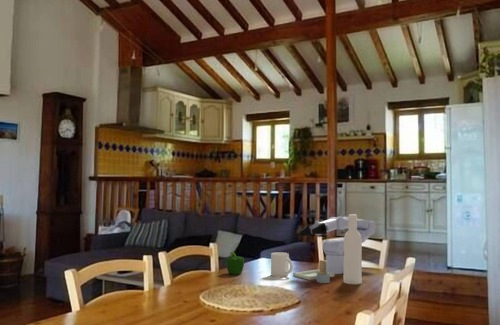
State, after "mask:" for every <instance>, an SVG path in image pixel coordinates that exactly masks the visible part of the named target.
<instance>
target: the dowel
mask: <svg viewBox="0 0 500 325" xmlns="http://www.w3.org/2000/svg"><path fill="white" fill-rule="evenodd" d="M319 270H320V274H321V275H327V261H326V259H325V260H321V259H320V260H319Z"/></svg>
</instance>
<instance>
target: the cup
mask: <svg viewBox="0 0 500 325" xmlns="http://www.w3.org/2000/svg"><path fill="white" fill-rule="evenodd" d="M330 278H331V277H330V274H329V273H327V275H321V274H320V273H317V279H316V282H317V283H320V284H328V283H329V284H330V280H331V279H330Z"/></svg>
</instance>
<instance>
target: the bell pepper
mask: <svg viewBox="0 0 500 325" xmlns="http://www.w3.org/2000/svg"><path fill="white" fill-rule="evenodd" d="M230 255H231V256H227V257H226V259H225V264H226V265H225V266H226V270H227V272H228V274H231V275H239V274H242V273H243V270H244V264H245V259H244V257H243V256H240V255H239V256H238V255H236V253H235V252H230ZM232 255H233V256H232Z"/></svg>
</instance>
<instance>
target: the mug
mask: <svg viewBox="0 0 500 325" xmlns="http://www.w3.org/2000/svg"><path fill="white" fill-rule="evenodd" d="M293 265H294V264H293V262H292V260H291V258H290V255H289V252H288V253H287V252H278V251H277V252H276V251H275V252H272V253H270V275H271V276H272V277H273V278H274V277H275V278H277V277H280V278H281V277H288V276H289V275H290V274H291V273H292V271H293V267H294V266H293Z"/></svg>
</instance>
